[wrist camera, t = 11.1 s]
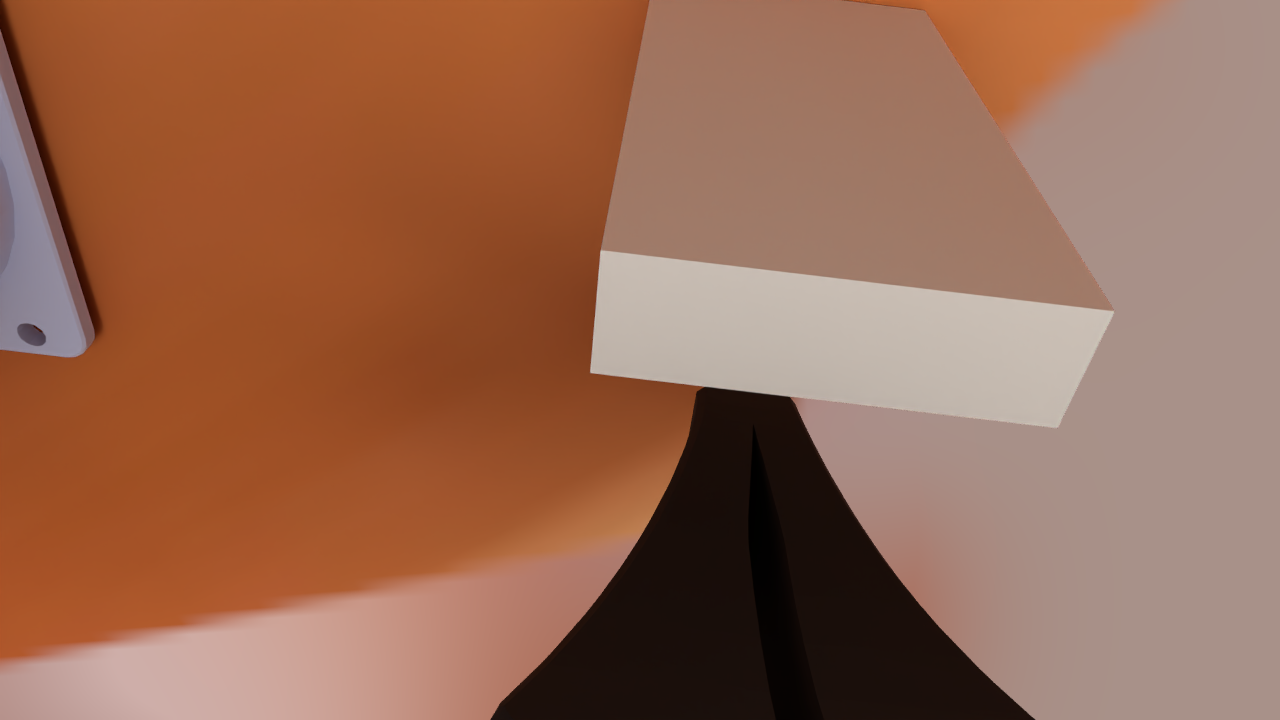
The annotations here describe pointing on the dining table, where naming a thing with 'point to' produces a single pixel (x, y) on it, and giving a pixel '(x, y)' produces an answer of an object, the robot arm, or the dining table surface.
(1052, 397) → the domino
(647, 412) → the dining table surface
